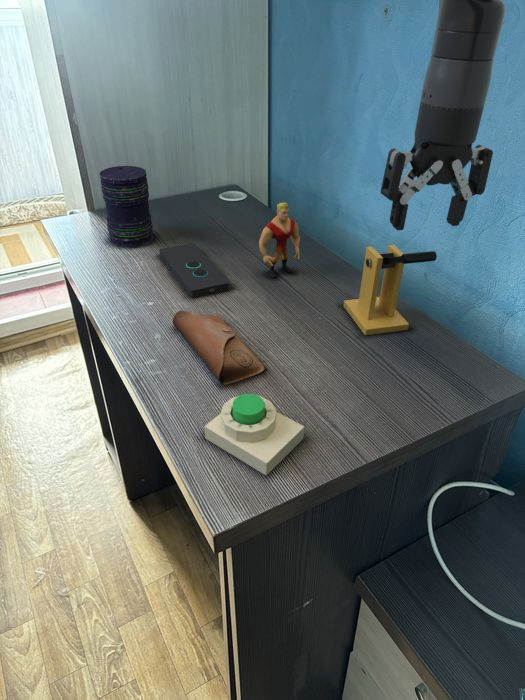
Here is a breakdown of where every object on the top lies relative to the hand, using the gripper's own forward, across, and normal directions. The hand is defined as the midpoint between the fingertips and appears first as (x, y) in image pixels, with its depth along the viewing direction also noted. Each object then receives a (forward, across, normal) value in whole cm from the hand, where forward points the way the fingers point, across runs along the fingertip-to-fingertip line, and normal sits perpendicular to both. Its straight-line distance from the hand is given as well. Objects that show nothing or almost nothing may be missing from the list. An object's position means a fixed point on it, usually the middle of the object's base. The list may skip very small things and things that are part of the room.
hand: (425, 226), depth 72 cm
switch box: (+21, -28, -15) cm, 38 cm away
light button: (+17, -29, -14) cm, 36 cm away
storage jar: (+21, -40, +53) cm, 70 cm away
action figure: (+21, -12, +30) cm, 38 cm away
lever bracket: (+21, 0, +10) cm, 23 cm away
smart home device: (+21, -29, +34) cm, 49 cm away
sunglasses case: (+21, -29, +6) cm, 36 cm away
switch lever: (+9, 0, +5) cm, 10 cm away
